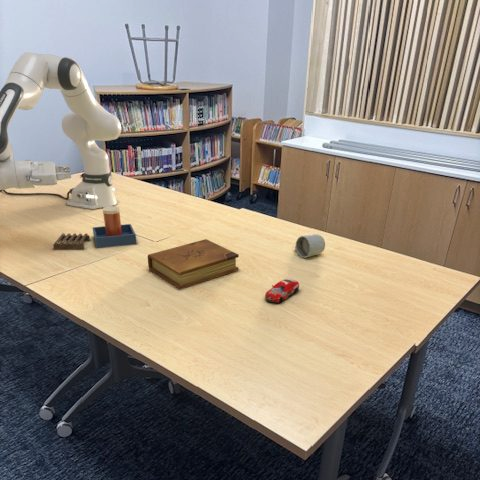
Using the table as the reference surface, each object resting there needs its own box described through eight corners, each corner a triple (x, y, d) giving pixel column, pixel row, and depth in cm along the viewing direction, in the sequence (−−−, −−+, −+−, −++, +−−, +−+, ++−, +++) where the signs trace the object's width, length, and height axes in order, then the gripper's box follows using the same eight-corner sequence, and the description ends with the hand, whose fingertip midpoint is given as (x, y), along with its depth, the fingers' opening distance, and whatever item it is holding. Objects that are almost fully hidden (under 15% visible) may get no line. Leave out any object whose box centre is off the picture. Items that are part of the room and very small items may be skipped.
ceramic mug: (325, 255, 170) (327, 235, 166) (308, 260, 166) (310, 239, 162) (305, 247, 178) (307, 227, 174) (288, 251, 173) (290, 231, 170)
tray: (96, 248, 173) (95, 238, 171) (93, 236, 183) (92, 227, 181) (136, 244, 177) (135, 234, 175) (131, 233, 187) (130, 223, 185)
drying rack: (54, 249, 171) (52, 242, 170) (61, 239, 180) (60, 233, 179) (83, 249, 172) (82, 242, 170) (90, 239, 180) (89, 233, 179)
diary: (205, 253, 170) (204, 238, 167) (238, 270, 158) (238, 254, 155) (148, 269, 157) (147, 253, 154) (179, 289, 145) (179, 271, 142)
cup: (107, 242, 176) (103, 211, 171) (105, 236, 181) (101, 206, 175) (123, 240, 178) (120, 210, 172) (121, 235, 183) (118, 205, 177)
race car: (276, 306, 136) (277, 293, 134) (261, 300, 139) (262, 288, 137) (302, 290, 145) (303, 278, 143) (287, 285, 148) (288, 273, 146)
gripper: (23, 171, 149) (70, 169, 154) (26, 158, 166) (67, 156, 170) (28, 191, 153) (73, 188, 157) (29, 177, 169) (70, 174, 173)
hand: (70, 172), depth 164 cm, fingers open, 8 cm apart
